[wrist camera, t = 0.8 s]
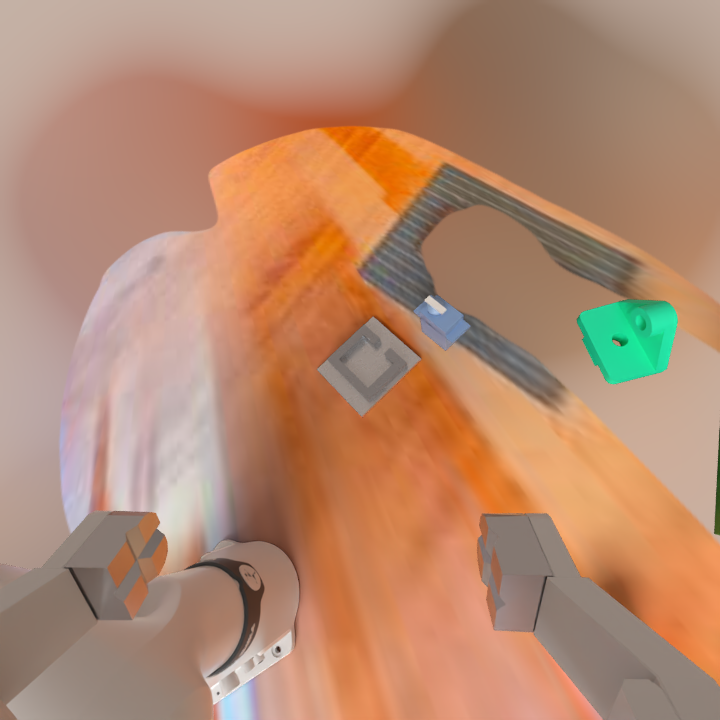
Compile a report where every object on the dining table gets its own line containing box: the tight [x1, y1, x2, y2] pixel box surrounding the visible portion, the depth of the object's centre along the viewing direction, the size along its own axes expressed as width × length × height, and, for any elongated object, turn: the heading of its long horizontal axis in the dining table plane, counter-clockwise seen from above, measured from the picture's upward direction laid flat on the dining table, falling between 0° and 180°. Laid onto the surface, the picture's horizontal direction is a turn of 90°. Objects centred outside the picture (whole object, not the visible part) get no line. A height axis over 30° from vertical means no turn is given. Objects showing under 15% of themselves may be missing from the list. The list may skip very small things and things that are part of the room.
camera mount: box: [577, 299, 678, 384], centre depth 56 cm, size 12×8×10 cm, turn 13°
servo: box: [414, 295, 470, 351], centre depth 63 cm, size 4×8×9 cm, turn 44°
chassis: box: [317, 317, 421, 418], centre depth 66 cm, size 14×12×2 cm
